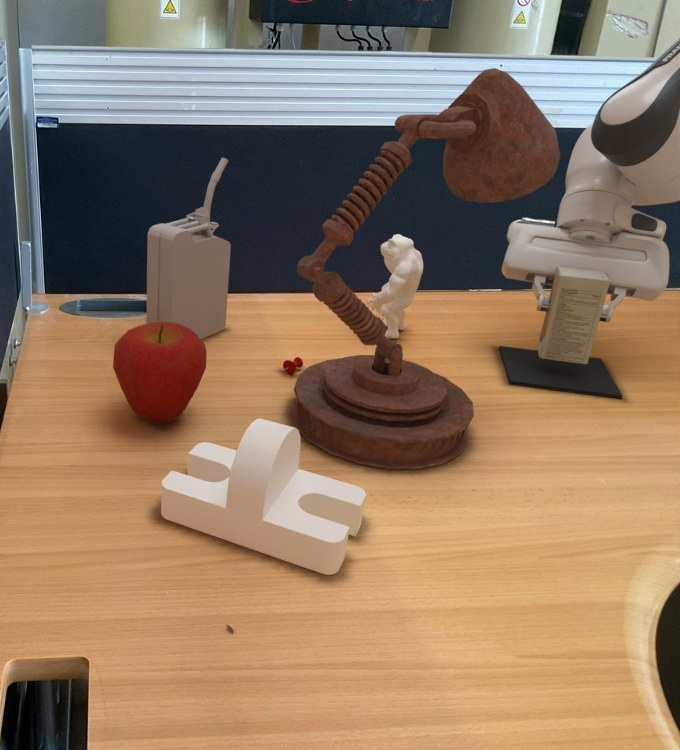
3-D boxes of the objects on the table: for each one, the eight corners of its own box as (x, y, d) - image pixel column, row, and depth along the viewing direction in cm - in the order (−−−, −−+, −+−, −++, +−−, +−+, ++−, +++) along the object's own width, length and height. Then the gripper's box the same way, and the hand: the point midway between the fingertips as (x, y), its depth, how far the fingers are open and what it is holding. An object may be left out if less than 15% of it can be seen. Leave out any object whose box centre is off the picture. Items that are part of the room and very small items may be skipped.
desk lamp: (546, 429, 92) (649, 77, 74) (342, 499, 78) (408, 82, 60) (420, 361, 108) (479, 59, 90) (231, 408, 94) (257, 60, 76)
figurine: (400, 349, 112) (418, 251, 105) (357, 339, 115) (371, 243, 108) (418, 326, 120) (436, 233, 113) (377, 317, 123) (392, 226, 116)
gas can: (211, 315, 121) (219, 155, 110) (235, 324, 118) (247, 160, 107) (144, 342, 111) (146, 169, 100) (169, 353, 108) (175, 175, 97)
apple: (134, 389, 98) (135, 301, 92) (214, 405, 95) (219, 315, 89) (98, 430, 88) (96, 335, 83) (185, 449, 85) (189, 351, 80)
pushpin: (287, 380, 102) (288, 366, 101) (274, 375, 103) (276, 361, 102) (304, 371, 104) (305, 358, 103) (291, 366, 106) (292, 353, 105)
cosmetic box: (583, 353, 106) (608, 270, 101) (587, 366, 103) (614, 280, 97) (534, 346, 108) (556, 264, 103) (536, 358, 105) (559, 273, 99)
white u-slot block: (334, 578, 67) (350, 482, 62) (156, 516, 74) (158, 426, 70) (363, 519, 75) (379, 430, 70) (199, 468, 82) (204, 384, 77)
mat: (599, 361, 110) (600, 358, 110) (621, 398, 100) (622, 395, 100) (498, 348, 113) (499, 345, 113) (509, 383, 103) (510, 380, 103)
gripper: (514, 204, 107) (494, 291, 103) (680, 224, 99) (665, 319, 96) (508, 227, 112) (489, 310, 109) (665, 248, 105) (650, 338, 101)
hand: (573, 314), depth 102 cm, fingers closed on cosmetic box, 6 cm apart
